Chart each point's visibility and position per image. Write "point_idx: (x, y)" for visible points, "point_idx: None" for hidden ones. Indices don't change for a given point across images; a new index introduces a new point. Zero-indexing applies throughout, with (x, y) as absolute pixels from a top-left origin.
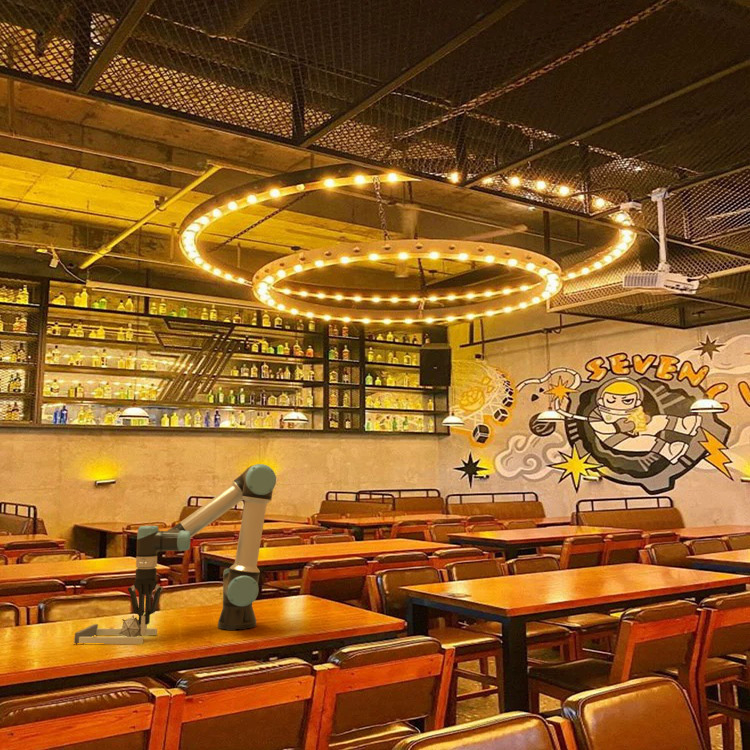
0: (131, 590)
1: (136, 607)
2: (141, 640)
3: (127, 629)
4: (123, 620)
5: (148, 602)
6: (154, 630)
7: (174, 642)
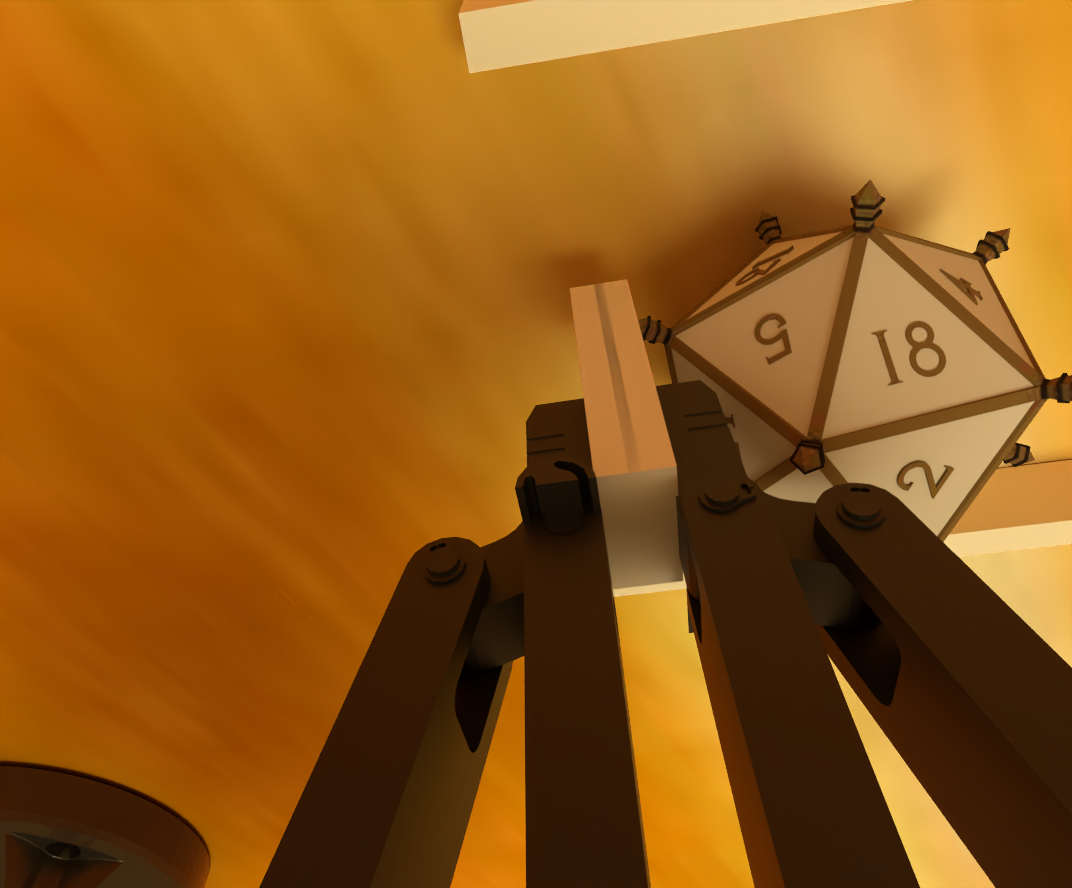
0: None
1: (886, 621)
2: (472, 4)
3: (864, 191)
4: (1061, 380)
5: (534, 785)
6: None
7: (70, 244)
